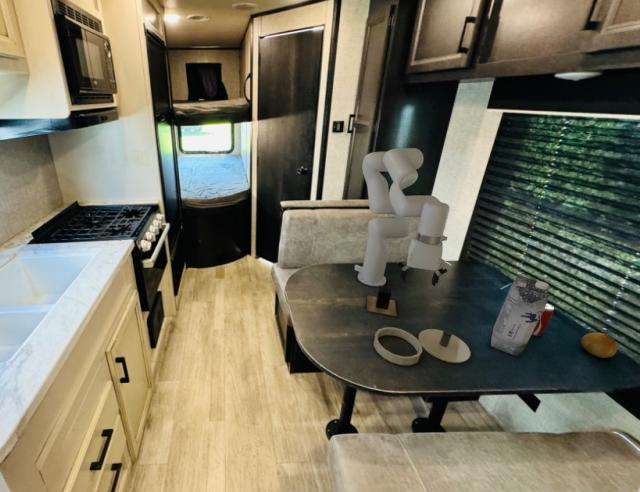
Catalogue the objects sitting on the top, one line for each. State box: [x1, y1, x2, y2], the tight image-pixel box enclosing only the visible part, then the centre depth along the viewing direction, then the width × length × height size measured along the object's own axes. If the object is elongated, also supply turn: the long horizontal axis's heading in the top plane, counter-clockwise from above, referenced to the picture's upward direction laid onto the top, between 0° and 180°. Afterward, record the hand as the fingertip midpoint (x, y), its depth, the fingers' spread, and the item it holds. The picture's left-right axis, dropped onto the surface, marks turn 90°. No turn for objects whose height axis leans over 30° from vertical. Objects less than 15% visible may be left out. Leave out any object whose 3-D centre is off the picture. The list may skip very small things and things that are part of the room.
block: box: [375, 285, 392, 310], centre depth 128 cm, size 5×5×8 cm
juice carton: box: [490, 274, 550, 357], centre depth 104 cm, size 9×10×27 cm
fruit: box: [581, 332, 618, 359], centre depth 105 cm, size 8×8×8 cm
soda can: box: [531, 302, 555, 337], centre depth 113 cm, size 5×5×12 cm
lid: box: [417, 328, 471, 364], centre depth 108 cm, size 16×16×7 cm
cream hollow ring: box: [373, 326, 423, 366], centre depth 108 cm, size 15×15×4 cm
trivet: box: [366, 294, 397, 317], centre depth 130 cm, size 11×11×1 cm
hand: (417, 281), depth 112 cm, fingers open, 9 cm apart
